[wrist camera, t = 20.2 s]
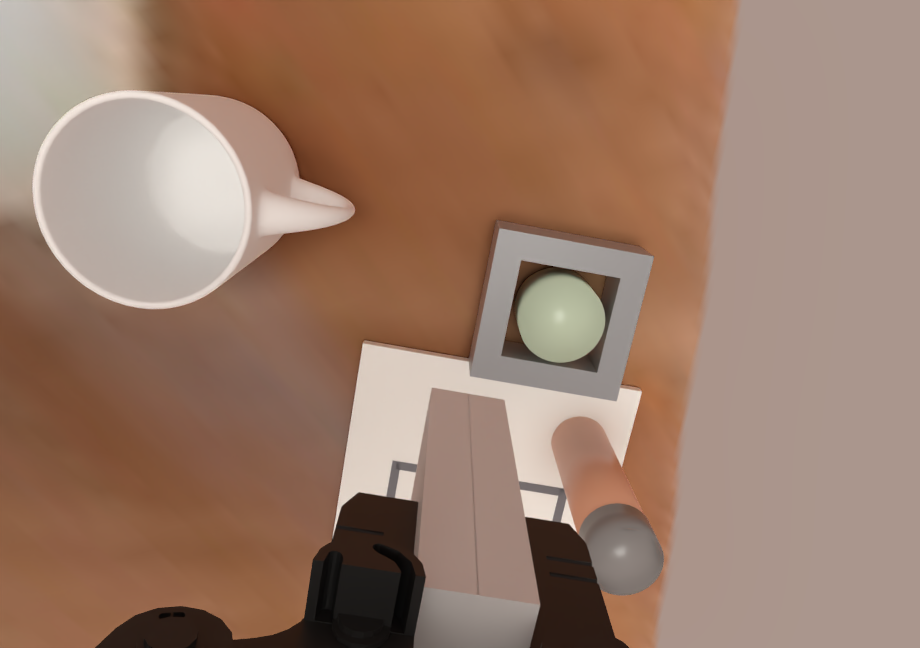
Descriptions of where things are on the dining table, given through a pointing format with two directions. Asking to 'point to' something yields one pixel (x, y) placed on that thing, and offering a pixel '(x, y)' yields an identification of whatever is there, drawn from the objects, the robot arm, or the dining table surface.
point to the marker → (605, 508)
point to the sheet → (417, 371)
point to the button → (559, 315)
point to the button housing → (571, 251)
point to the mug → (169, 194)
